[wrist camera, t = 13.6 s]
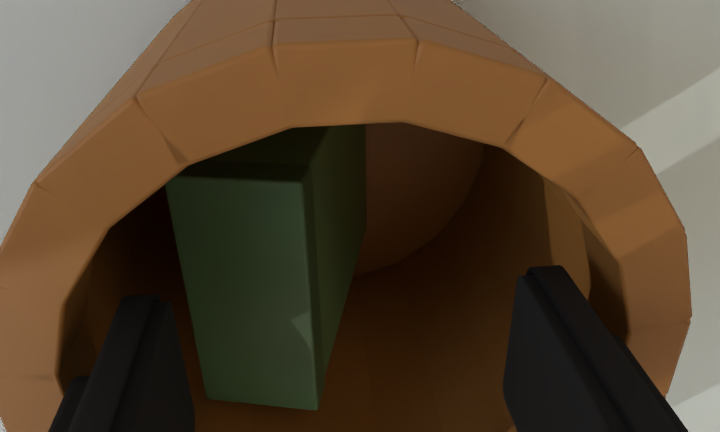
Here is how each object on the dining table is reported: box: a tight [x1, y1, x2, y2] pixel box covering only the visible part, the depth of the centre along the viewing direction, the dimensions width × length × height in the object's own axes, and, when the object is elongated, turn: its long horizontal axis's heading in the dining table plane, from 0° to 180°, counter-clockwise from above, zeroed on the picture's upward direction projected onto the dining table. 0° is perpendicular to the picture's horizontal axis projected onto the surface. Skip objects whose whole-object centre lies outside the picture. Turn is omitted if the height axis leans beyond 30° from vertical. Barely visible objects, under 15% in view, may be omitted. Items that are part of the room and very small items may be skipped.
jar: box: [0, 0, 692, 432], centre depth 15 cm, size 11×11×11 cm
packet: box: [165, 124, 367, 411], centre depth 15 cm, size 3×6×8 cm, turn 2°
